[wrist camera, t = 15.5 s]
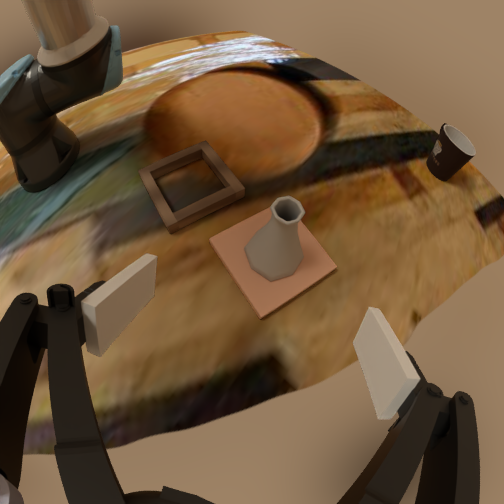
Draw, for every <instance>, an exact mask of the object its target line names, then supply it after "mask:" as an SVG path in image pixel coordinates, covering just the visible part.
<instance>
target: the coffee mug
mask: <svg viewBox="0 0 504 504" xmlns="http://www.w3.org/2000/svg"><path fill="white" fill-rule="evenodd" d="M475 154H476V152H475V148H474V146H473V145H472V143H471V142H470V141H469V139H468V138H467V137H466V136H465V135H464V134H463V133H462V132H461V131H459V130H458V129H457V128H455V127H453V126H451V125H448V124H445V123H444V124H443V125H442V127H441V129H440V134H439V138H438V140H437V142H436V144H435V146H434V148H433V150H432V152H431V154H430V156H429V157H428V159H427V167H428V169H429V170H430V172H431V173H432V174H433V175H434V176H435V177H436V178H438V179H439V180H441V181H447V180H448V179H449V178H451V177H452V176H453V175H454V174H455V173H456V172H457V171H458V170H459V169H461V168H462V167H463V166H464V165H465V164H466V163H467V162H468V161H469V160H470V159H471V158H472V157H473V156H475Z"/></svg>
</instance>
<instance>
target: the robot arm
mask: <svg viewBox="0 0 504 504" xmlns="http://www.w3.org/2000/svg"><path fill="white" fill-rule="evenodd" d="M22 3H23V5H24V8H25V10H26V12H27V15H28V17H29V19H30V21H31V24H32V26H33V28H34V30H35V32H36V34H37V36H38V38H39V40H40V43H41V45H42V46H41V48H40V50H39V52H38V56H37V59H36V60H34V57H33V56H32V55H30V54H29V55H27V56H25V57H23V58H21V59H20V60H18V61H17V62H16V63H15V64H13V65H12V66H11V67H10V68H8V69H7V70H6V71H5V72H4V73H3V74H2V75H1V76H0V141H1V142H2V144H3V145H4V147H5V148H6V150H7V151H8V153H9V154H10V156H11V158H12V162H13V165H14V169H15V173H16V176H17V179H18V181H19V183H20V184H21V186H22V187H23V188H24V189H25V190H26V191H28V192H36V191H40V190H43V189H45V188H47V187H48V186H50V185H52V184H53V183H54V182H56V181H57V180H58V179H59V178H61V177H62V176H63V175H64V174H65V173H66V172H67V170H68V169H69V168H70V167H71V165H72V164H73V163H74V161H75V159H76V157H77V155H78V152H79V142H78V140H77V138H76V135H75V134H74V133H73V131H71V130H70V129H69V128H68V127H67V126H66V125H65V124H64V123H62V122H61V121H60V120H59V119H58V118H57V116H56V114H57V113H59V112H61V111H63V110H66V109H68V108H70V107H72V106H75V105H77V104H79V103H82V102H84V101H87V100H89V99H92V98H94V97H97V96H101V95H103V94H104V93H106V92H108V91H110V90H113V89H115V88H117V87H118V86H119V85H120V84H121V82H122V80H123V66H122V54H121V39H120V38H121V37H120V28H119V26H110V27H109V24H108V21H107V20H106V19H105V18H104V17H101V16H96V14H95V10H94V6H93V2H92V0H22ZM156 267H157V256H155V255H151V254H148V253H146V254H144V255H143V256H142V257H140V258H139V259H137V260H136V261H135V262H133V263H132V264H130V265H129V266H128V267H126V268H125V269H123V270H122V271H121V272H119V273H118V274H117V275H115V276H114V277H112V278H111V279H110V280H108V281H107V282H105V281H99V282H96V283H94V284H92V285H91V286H90V287H88V288H87V289H85V290H84V292H81V293H80V294H79V295H77V296H76V297H75V296H74V289H73V287H71V286H70V285H67V284H55V285H52V286H50V287H49V288H48V289H47V298H48V305H49V306H44V305H39V304H38V299H37V296H36V295H34V294H32V293H22V294H20V295H18V296H17V297H16V298H15V299H14V300H13V302H12V303H11V305H10V307H9V308H8V310H7V311H6V313H5V315H4V316H3V318H2V320H1V322H0V504H24V501H23V498H22V495H21V493H20V492H19V491H18V487H19V482H20V477H21V468H22V458H23V448H24V440H25V433H26V427H27V421H28V415H29V410H30V405H31V400H32V396H33V392H34V388H35V384H36V380H37V376H38V372H39V369H40V365H41V362H42V358H43V355H44V352H45V349H48V376H49V390H50V400H51V409H52V416H53V423H54V429H55V435H56V441H57V445H55V446H54V450H55V456H56V461H57V465H58V469H59V473H60V476H61V480H62V484H63V487H64V490H65V494H66V497H67V500H68V503H69V504H214V503H212V502H210V501H207V500H205V499H203V498H201V497H199V496H197V495H193V494H190V493H186V492H182V491H179V490H175V489H172V488H169V487H166V486H163V489H162V492H160V491H138V492H132V493H128V494H124V492H123V490H122V488H121V486H120V484H119V481H118V479H117V477H116V474H115V472H114V469H113V467H112V464H111V462H110V459H109V456H108V453H107V451H106V448H105V445H104V442H103V439H102V436H101V432H100V429H99V426H98V422H97V419H96V415H95V411H94V408H93V404H92V400H91V395H90V391H89V387H88V382H87V377H86V372H85V366H84V361H83V355H82V349H81V346H82V345H83V344H84V343H85V342H86V347H87V351H88V352H90V353H92V354H94V355H96V356H99V357H101V356H102V355H103V353H104V352H105V351H106V350H107V349H108V348H109V346H110V345H111V344H112V343H113V342H114V341H115V339H116V338H117V337H118V336H119V335H120V334H121V333H122V331H123V330H124V329H125V328H126V327H127V326H128V325H129V323H130V322H131V321H132V320H133V319H134V318H135V317H136V316H137V314H138V313H139V312H140V311H141V310H142V309H143V308H144V307H145V306H146V304H147V303H148V302H149V301H150V300H151V299H152V298H153V297H154V291H155V278H156ZM353 345H354V348H355V351H356V353H357V356H358V359H359V362H360V365H361V368H362V371H363V374H364V377H365V379H366V383H367V385H368V389H369V392H370V395H371V398H372V401H373V404H374V408H375V411H376V414H377V418H378V419H391V418H392V417H393V416H394V415H395V413H396V412H397V411H398V414H399V418H398V419H397V420H396V422H395V423H394V424H393V425H392V426H391V427H390V429H389V430H388V431H389V433H388V435H387V436H386V438H385V440H384V441H383V443H382V444H381V446H380V447H379V449H378V450H377V452H376V454H375V455H374V457H373V458H372V459H371V461H370V462H369V464H368V465H367V467H366V468H365V469H364V471H363V472H362V473H361V475H360V476H359V477H358V478H357V480H356V481H355V482H354V484H353V485H352V486H351V487H350V489H349V490H348V491H347V492H346V493H345V495H344V496H343V497H342V498H341V499H340V500H339V502H338V503H337V504H399V502H400V501H401V499H402V497H403V495H404V493H405V492H406V490H407V488H408V486H409V484H410V482H411V480H412V478H413V476H414V474H415V472H416V469H417V467H418V465H419V463H420V461H421V459H422V456H423V454H424V458H423V464H422V471H421V476H420V482H419V487H418V493H417V497H416V501H415V504H479V494H480V459H479V444H478V432H477V424H476V416H475V410H474V404H473V400H472V398H471V397H470V395H468V394H467V393H464V392H461V391H459V392H456V393H455V395H454V396H453V398H449V397H445V396H443V392H442V390H441V389H440V388H439V387H437V386H436V385H434V384H432V383H427V381H426V379H425V377H424V375H423V374H422V372H421V370H420V369H419V367H418V365H417V364H416V361H415V360H414V358H413V356H411V355H410V354H409V353H408V352H407V351H405V350H404V349H403V347H402V345H401V344H400V342H399V340H398V338H397V337H396V335H395V333H394V332H393V330H392V328H391V327H390V325H389V323H388V322H387V320H386V319H385V317H384V315H383V314H382V312H381V311H380V309H378V308H373V307H369V308H368V310H367V312H366V315H365V317H364V319H363V321H362V324H361V326H360V328H359V330H358V332H357V335H356V337H355V339H354V341H353Z"/></svg>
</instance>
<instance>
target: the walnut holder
mask: <svg viewBox="0 0 504 504" xmlns="http://www.w3.org/2000/svg"><path fill="white" fill-rule="evenodd" d="M200 158H203V159H204V160H205V161H206V163H207V164H208V165H209V167H210V168H211V169H212V170H213V172H214V173H215V174H216V176H217V177H218V178H219V180H220V181H221V182H222V184H223V185H224V186H225V188H224V189H222V190H220V191H217V192H215V193H213V194H211V195H209V196H207V197H205V198H203V199H201V200H199V201H197V202H195V203H193V204H191V205H189V206H187V207H185V208H183V209H181V210H179V211H177V212H175V213H172V211H171V210H170V208H169V206H168V204H167V203H166V201H165V199H164V197H163V195H162V194H161V192H160V190H159V188H158V186H157V185H156V183H155V181H154V179H156V178H159V177H161V176H163V175H165V174H167V173H169V172H171V171H173V170H175V169H178V168H180V167H182V166H184V165H186V164H189V163H191V162H193V161H196V160H198V159H200ZM138 172H139V175H140V177H141V180H142V182H143V184H144V186H145V188H146V190H147V192H148V194H149V195H150V197H151V199H152V201H153V203H154V205H155V207H156V209H157V211H158V213H159V215H160V216H161V218H162V220H163V222H164V224H165V226H166V228H167V229H168V231H169V233H170V234H172V233H174V232H176V231H177V230H179V229H181V228H183V227H185V226H187V225H189V224H191V223H193V222H195V221H197V220H199V219H201V218H203V217H204V216H206V215H208V214H210V213H212V212H214V211H216V210H218V209H220V208H222V207H224V206H227V205H229V204H231V203H233V202H235V201H237V200H239V199H241V198H243V197H245V188H244V186H243V185H242V184H241V183H240V181H239V180H238V179H237V178H236V176H235V175H234V174H233V173H232V171H231V170H230V169H229V168H228V167H227V165H226V164H225V163H224V162H223V161H222V159H221V158H220V157H219V156H218V154H217V153H216V152H215V151H214V150H213V148H212V147H211V146H210V145H209V144H208V142H207V141H203V142H201V143H198V144H196V145H193V146H191V147H189V148H186V149H184V150H181V151H179V152H177V153H175V154H172V155H170V156H168V157H166V158H163V159H161V160H159V161H157V162H155V163H153V164H151V165H148V166H146V167H144V168H142V169H140V170H138Z"/></svg>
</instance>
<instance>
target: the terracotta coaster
mask: <svg viewBox="0 0 504 504" xmlns="http://www.w3.org/2000/svg"><path fill="white" fill-rule="evenodd" d="M271 216H272V212H271V210H270V207H269V208H267V209H265V210H263V211H261V212H259V213H257V214H255V215H253V216H251V217H249V218H247V219H246V220H244V221H242V222H240V223H238V224H236V225H234V226H232V227H230V228H228V229H226V230H224V231H222V232H221V233H219V234H217V235H215V236H213V237H211V238H209V242H210V244H211V246H212V247H213V249H214V251H215V252H216V254H217V255H218V257H219V258H220V260H221V261H222V263H223V264H224V266H225V268H226V269H227V271H228V272H229V274H230V275H231V277H232V278H233V280H234V281H235V283H236V284H237V286H238V287H239V289H240V290H241V292H242V293H243V295H244V296H245V298H246V299H247V301H248V302H249V304H250V305H251V307H252V308H253V310H254V311H255V313H256V314H257V316H258V317H259V319H262V318H263V317H265V316H267V315H268V314H270V313H271V312H273V311H274V310H276V309H278V308H279V307H281V306H282V305H284V304H285V303H287V302H288V301H290V300H291V299H293V298H294V297H296V296H297V295H299V294H300V293H302V292H303V291H305V290H306V289H308V288H309V287H311V286H312V285H314V284H315V283H317V282H318V281H319V280H321V279H322V278H324V277H325V276H327V275H328V274H329V273H331V272H332V271H334V270H335V269H336V268H337V266H336V264H335V263H334V262H333V260H332V259H331V258H330V257H329V255H328V254H327V253H326V251H325V250H324V249H323V248H322V246H321V245H320V244H319V242H318V241H317V240H316V239H315V237H314V236H313V235H312V234H311V232H310V231H309V230H308V229H307V227H306V226H305V225H304V224H303V223H302V221H301V220H300V221H299V223H298V236H299V241H300V245H301V248H302V252H303V256H304V258H303V259H302V261H301V263H300V264H299V266H298V267H297V269H296V270H295V272H294V273H293V275H290V276H287V277H284V278H280V279H277V280H274V281H269V280H268V279H266V278H265V277H263V276H262V275H260V274H259V273H257V272H256V271H254V270H253V269H251V267H250V264H249V261H248V259H247V256H246V253H245V250H244V247H245V246H246V245H247V243H248V242H249V241H250V240H251V238H252V237H253V236H254V235H255V233H256V232H257V231H258V230H259V229H261V228H262V227H263V226H265V225H266V224H267V223H268V222H269V220H270V219H271Z"/></svg>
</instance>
